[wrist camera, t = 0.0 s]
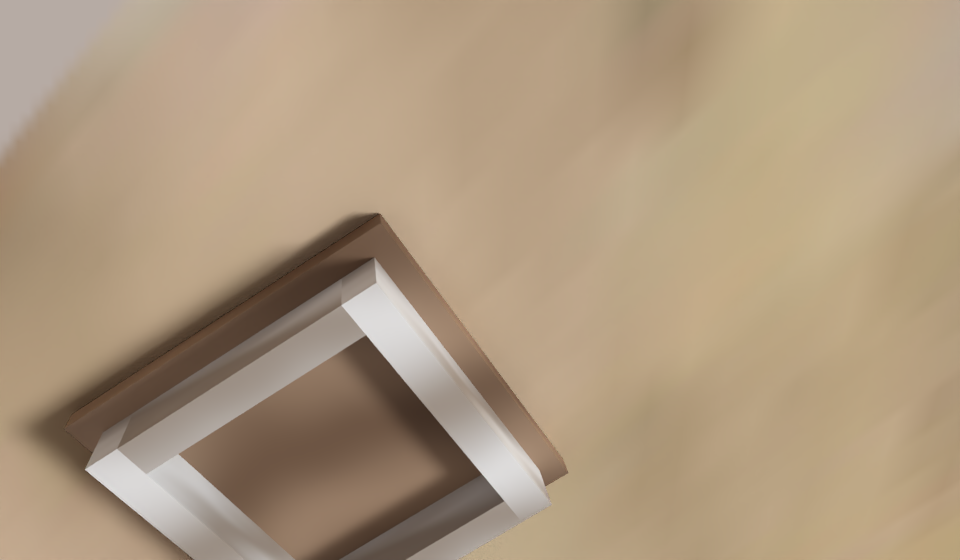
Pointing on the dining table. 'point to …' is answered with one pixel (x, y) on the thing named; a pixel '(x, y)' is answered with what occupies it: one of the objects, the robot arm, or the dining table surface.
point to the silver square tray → (325, 423)
